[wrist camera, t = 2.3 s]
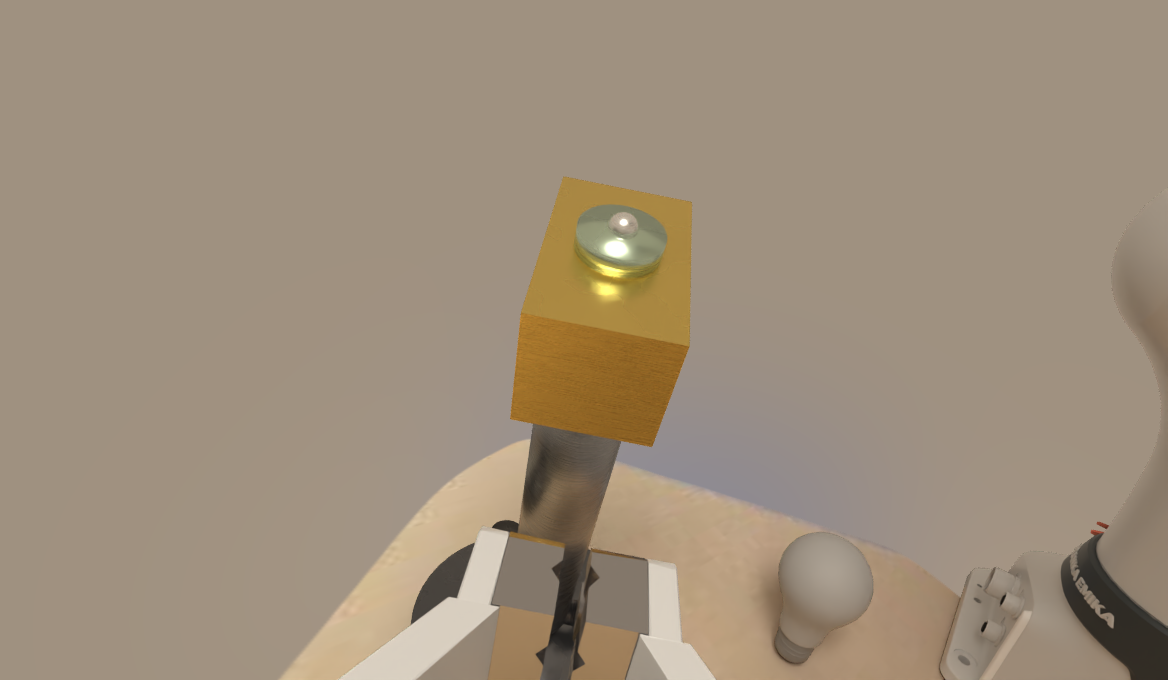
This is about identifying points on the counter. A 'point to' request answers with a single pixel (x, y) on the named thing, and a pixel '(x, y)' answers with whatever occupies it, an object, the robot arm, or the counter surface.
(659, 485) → the counter surface
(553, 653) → the tribrach base
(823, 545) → the lightbulb
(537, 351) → the instrument mast
